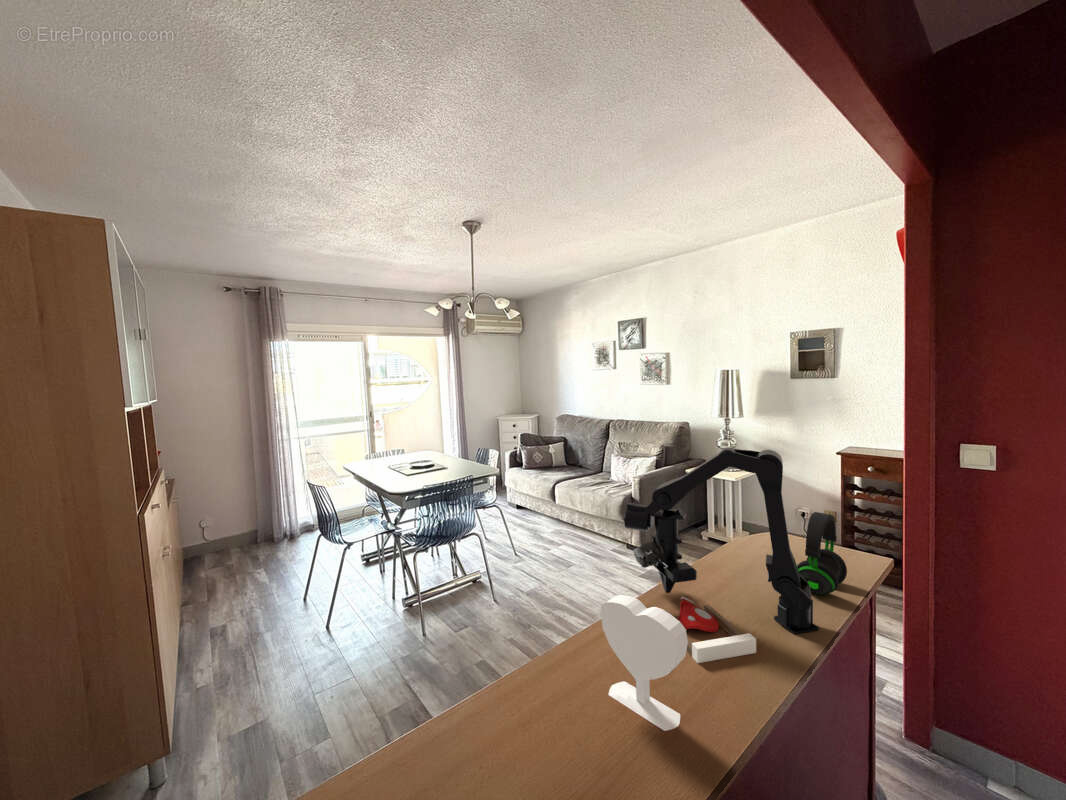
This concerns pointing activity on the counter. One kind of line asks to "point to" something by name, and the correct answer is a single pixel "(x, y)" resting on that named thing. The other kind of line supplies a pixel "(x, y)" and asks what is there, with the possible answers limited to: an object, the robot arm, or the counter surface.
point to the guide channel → (722, 642)
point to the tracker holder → (696, 617)
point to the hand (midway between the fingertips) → (667, 592)
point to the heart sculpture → (644, 653)
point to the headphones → (822, 556)
